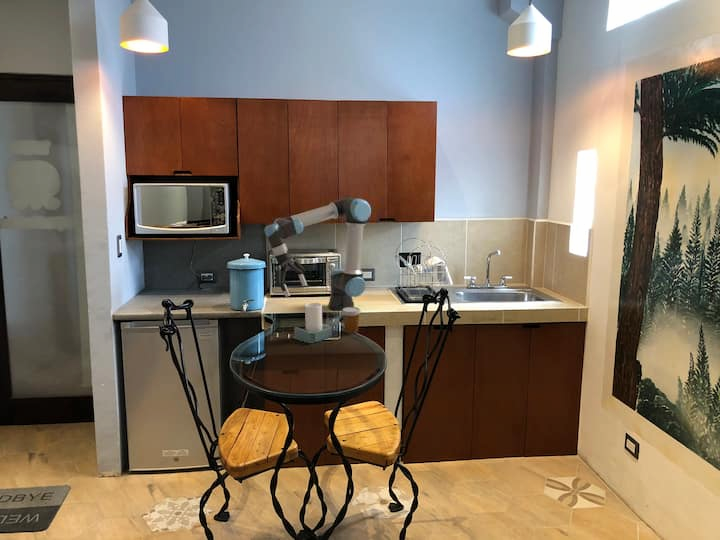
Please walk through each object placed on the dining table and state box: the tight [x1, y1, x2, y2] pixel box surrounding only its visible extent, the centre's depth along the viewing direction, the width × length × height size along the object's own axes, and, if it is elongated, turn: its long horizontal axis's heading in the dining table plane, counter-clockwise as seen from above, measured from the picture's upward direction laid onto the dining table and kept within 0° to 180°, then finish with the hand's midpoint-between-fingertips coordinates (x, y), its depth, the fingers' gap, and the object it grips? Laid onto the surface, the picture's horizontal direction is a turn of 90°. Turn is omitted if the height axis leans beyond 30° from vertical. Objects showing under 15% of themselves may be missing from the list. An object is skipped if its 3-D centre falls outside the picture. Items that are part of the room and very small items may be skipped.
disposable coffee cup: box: [341, 306, 361, 335], centre depth 286 cm, size 10×10×12 cm
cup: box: [304, 302, 323, 332], centre depth 279 cm, size 8×8×16 cm
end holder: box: [292, 323, 337, 344], centre depth 280 cm, size 16×14×5 cm
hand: (296, 290), depth 295 cm, fingers open, 13 cm apart
